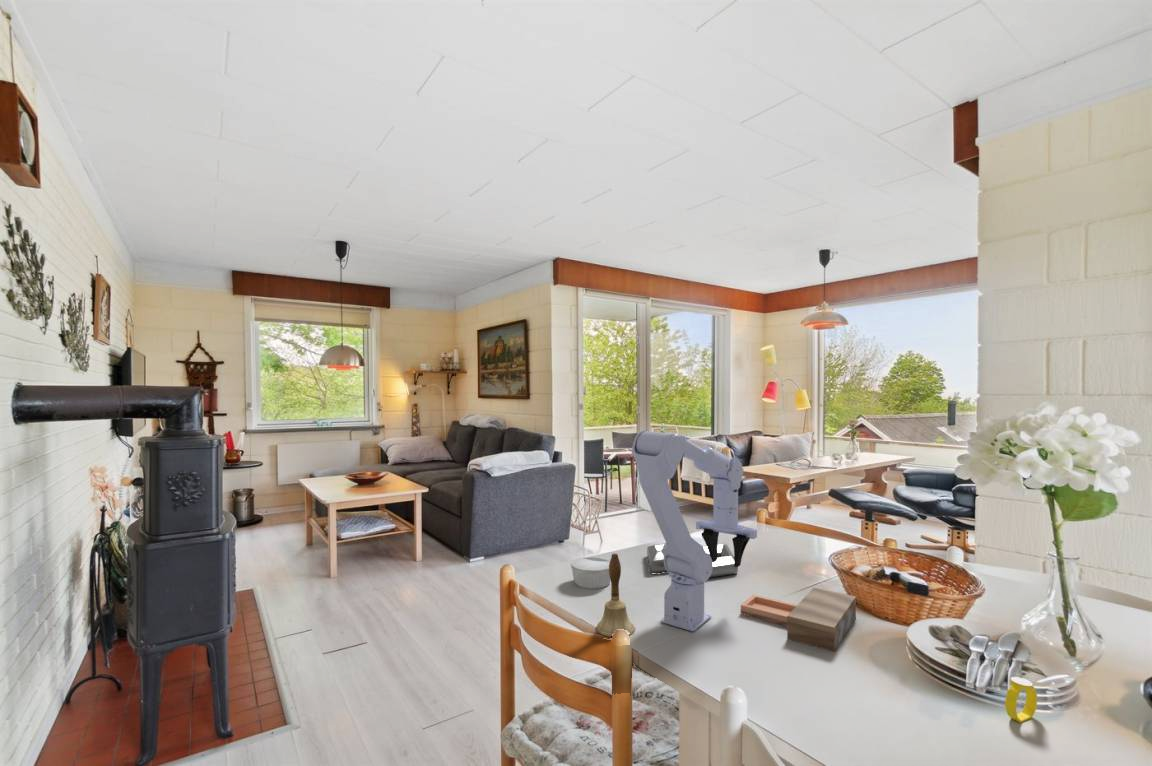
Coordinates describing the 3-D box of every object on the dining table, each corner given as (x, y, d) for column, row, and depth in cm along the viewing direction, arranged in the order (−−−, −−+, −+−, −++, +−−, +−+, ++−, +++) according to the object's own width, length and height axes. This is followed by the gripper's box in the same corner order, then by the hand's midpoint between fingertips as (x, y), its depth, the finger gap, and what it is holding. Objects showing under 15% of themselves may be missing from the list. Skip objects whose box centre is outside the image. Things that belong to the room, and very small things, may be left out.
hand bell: (588, 631, 117) (588, 556, 117) (608, 617, 124) (608, 546, 124) (623, 641, 113) (623, 563, 113) (641, 626, 119) (641, 552, 119)
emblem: (669, 529, 180) (754, 545, 163) (669, 546, 180) (754, 563, 163) (623, 550, 157) (716, 570, 140) (623, 569, 157) (716, 591, 140)
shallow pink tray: (795, 628, 119) (795, 618, 119) (740, 613, 126) (740, 605, 126) (805, 615, 125) (805, 606, 125) (753, 602, 132) (753, 594, 132)
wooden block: (834, 651, 108) (834, 627, 108) (787, 638, 114) (787, 615, 114) (855, 617, 124) (855, 596, 124) (813, 607, 130) (813, 587, 130)
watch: (1021, 711, 89) (1023, 673, 90) (1041, 720, 87) (1043, 682, 87) (999, 717, 87) (1001, 679, 87) (1019, 727, 84) (1021, 688, 85)
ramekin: (614, 576, 151) (614, 557, 151) (613, 592, 139) (613, 571, 139) (573, 575, 152) (573, 555, 152) (568, 590, 141) (568, 569, 141)
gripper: (761, 508, 131) (761, 565, 131) (704, 500, 140) (704, 553, 140) (750, 513, 126) (750, 573, 126) (692, 504, 135) (692, 560, 135)
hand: (725, 563), depth 132 cm, fingers open, 5 cm apart
